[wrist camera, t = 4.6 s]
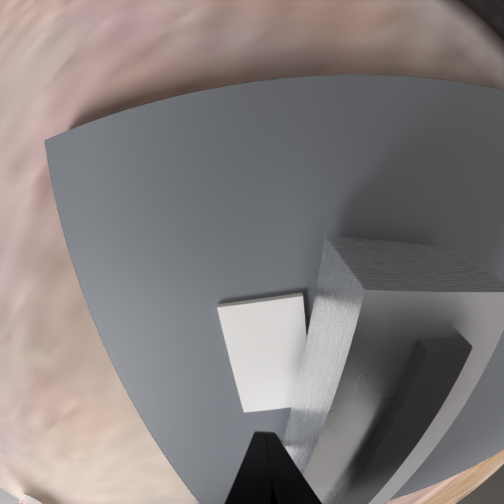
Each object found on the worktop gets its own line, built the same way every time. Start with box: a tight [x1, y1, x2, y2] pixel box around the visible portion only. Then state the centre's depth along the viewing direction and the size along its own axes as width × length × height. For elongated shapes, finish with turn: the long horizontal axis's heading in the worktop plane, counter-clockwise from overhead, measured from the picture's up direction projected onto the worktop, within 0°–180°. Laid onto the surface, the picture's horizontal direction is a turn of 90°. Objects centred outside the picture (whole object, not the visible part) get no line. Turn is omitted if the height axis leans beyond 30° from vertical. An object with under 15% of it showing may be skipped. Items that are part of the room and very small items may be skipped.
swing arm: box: [282, 235, 504, 504], centre depth 9 cm, size 19×4×3 cm, turn 176°
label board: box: [45, 75, 504, 504], centre depth 11 cm, size 24×23×1 cm
